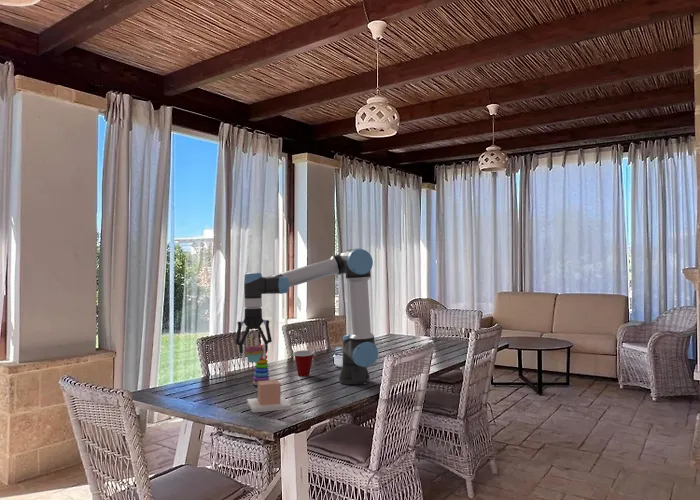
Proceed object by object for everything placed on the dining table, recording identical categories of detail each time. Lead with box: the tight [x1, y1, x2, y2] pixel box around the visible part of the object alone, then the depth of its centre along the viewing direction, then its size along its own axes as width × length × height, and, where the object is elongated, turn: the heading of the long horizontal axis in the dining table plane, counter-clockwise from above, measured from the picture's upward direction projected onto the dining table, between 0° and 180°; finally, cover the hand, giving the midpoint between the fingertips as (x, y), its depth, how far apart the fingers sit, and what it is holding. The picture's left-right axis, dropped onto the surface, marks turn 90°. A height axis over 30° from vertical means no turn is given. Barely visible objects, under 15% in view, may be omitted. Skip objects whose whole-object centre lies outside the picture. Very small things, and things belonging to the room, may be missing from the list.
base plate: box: [246, 395, 292, 413], centre depth 212 cm, size 15×15×2 cm
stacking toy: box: [252, 344, 270, 387], centre depth 249 cm, size 8×8×19 cm
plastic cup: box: [292, 349, 315, 377], centre depth 269 cm, size 11×11×12 cm
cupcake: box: [245, 334, 264, 364], centre depth 229 cm, size 9×8×12 cm
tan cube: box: [257, 379, 281, 405], centre depth 212 cm, size 8×7×8 cm
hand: (253, 359), depth 229 cm, fingers closed on cupcake, 8 cm apart
